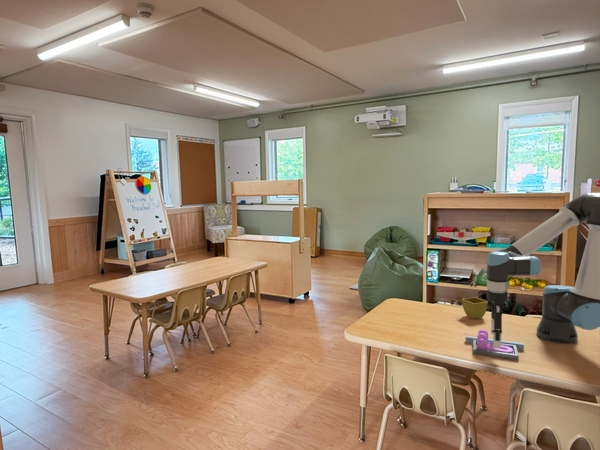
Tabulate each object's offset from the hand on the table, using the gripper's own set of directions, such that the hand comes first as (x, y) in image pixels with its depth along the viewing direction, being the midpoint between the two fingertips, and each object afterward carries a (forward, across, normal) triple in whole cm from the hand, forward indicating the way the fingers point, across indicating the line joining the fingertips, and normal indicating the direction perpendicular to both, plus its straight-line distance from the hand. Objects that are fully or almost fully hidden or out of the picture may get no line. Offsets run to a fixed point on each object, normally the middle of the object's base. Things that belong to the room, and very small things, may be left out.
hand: (495, 340), depth 156 cm
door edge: (+5, +6, 0) cm, 8 cm away
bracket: (+4, 0, 0) cm, 4 cm away
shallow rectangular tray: (+5, 0, 0) cm, 5 cm away
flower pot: (+5, +39, +7) cm, 40 cm away
